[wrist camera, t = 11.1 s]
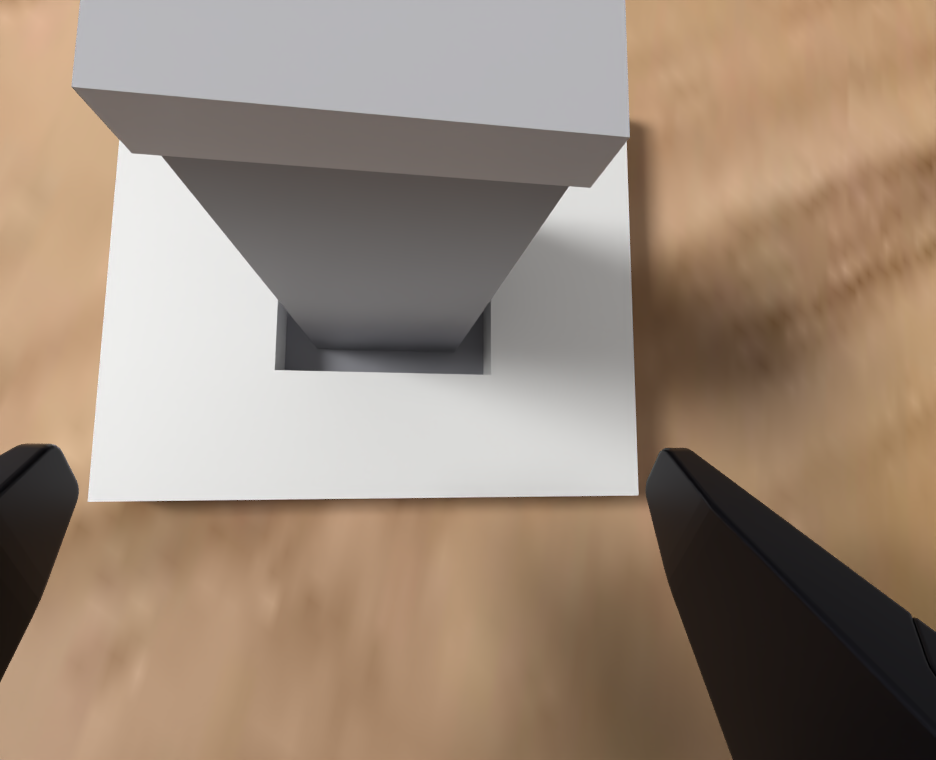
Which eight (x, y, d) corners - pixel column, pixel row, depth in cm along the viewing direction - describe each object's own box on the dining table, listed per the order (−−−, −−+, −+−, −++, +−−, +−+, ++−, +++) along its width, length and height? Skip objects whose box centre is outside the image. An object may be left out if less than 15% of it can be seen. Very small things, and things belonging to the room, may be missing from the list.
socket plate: (617, 490, 18) (640, 495, 16) (117, 495, 16) (84, 502, 14) (606, 114, 20) (626, 83, 18) (152, 70, 18) (126, 30, 16)
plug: (458, 356, 18) (629, 138, 5) (312, 353, 17) (71, 87, 4) (459, 221, 18) (615, -292, 5) (318, 212, 18) (119, -396, 5)
